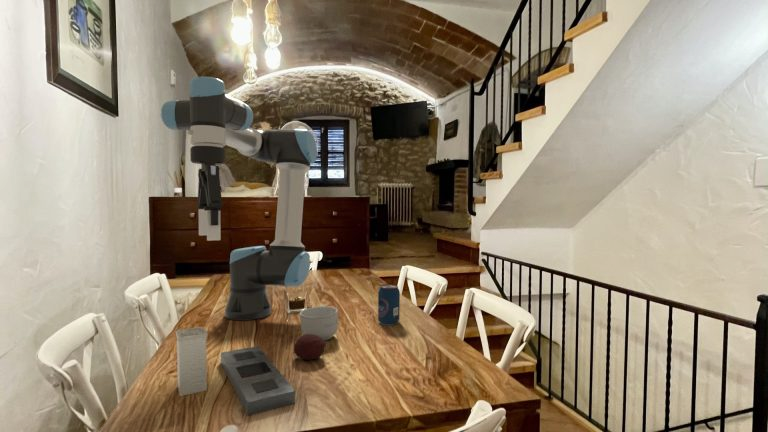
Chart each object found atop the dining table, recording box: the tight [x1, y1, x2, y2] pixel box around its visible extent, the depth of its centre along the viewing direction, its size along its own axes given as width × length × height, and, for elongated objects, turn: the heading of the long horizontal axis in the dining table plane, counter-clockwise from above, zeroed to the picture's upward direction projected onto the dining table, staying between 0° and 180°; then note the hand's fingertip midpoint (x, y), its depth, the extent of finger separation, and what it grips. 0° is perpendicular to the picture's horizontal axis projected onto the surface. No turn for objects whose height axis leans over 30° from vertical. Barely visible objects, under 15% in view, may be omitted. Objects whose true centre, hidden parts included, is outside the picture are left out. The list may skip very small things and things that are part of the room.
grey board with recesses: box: [220, 345, 296, 416], centre depth 89 cm, size 28×9×3 cm, turn 31°
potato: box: [293, 334, 326, 360], centre depth 102 cm, size 7×8×6 cm
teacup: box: [299, 304, 339, 341], centre depth 119 cm, size 14×11×8 cm
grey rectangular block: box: [175, 326, 208, 397], centre depth 86 cm, size 5×5×12 cm
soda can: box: [377, 283, 401, 326], centre depth 132 cm, size 7×7×12 cm
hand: (209, 237), depth 96 cm, fingers open, 13 cm apart
